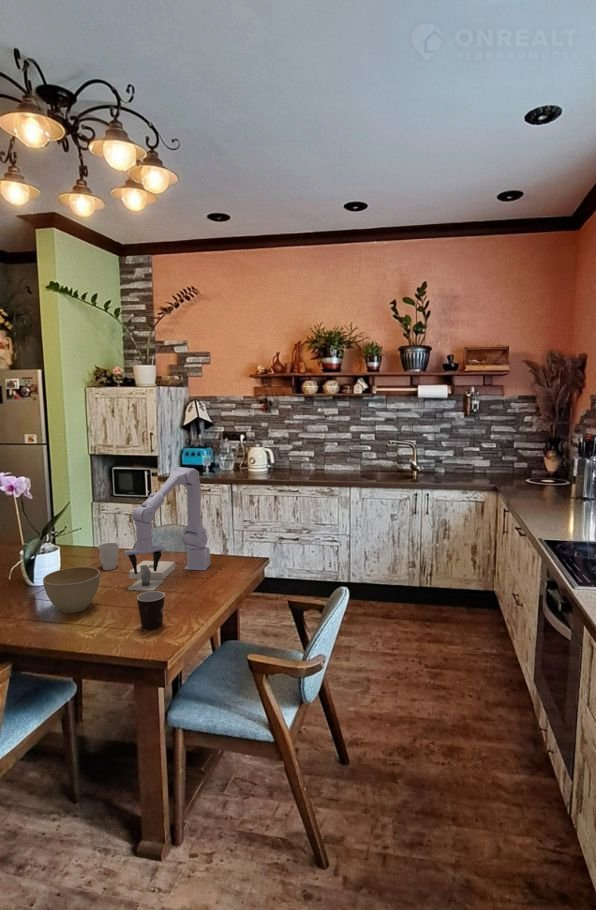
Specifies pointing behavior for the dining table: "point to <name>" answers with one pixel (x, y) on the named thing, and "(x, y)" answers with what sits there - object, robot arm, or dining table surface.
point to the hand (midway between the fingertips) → (145, 572)
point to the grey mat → (139, 587)
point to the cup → (108, 555)
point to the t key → (145, 575)
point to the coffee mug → (151, 609)
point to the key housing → (159, 574)
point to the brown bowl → (72, 588)
